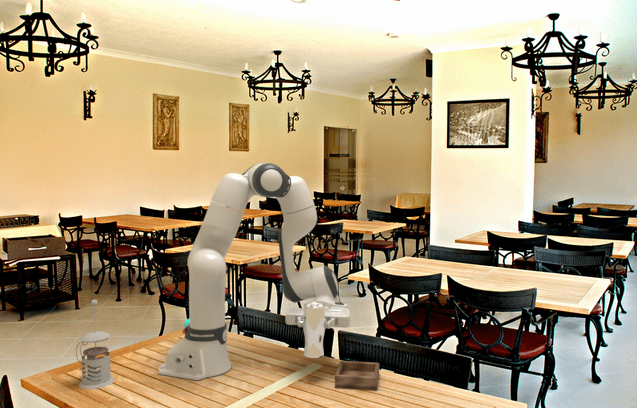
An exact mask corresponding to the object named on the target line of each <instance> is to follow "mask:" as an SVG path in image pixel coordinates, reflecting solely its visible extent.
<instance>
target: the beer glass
mask: <svg viewBox="0 0 637 408" xmlns="http://www.w3.org/2000/svg"><path fill="white" fill-rule="evenodd" d="M303 308H304V310H303V327H302V328H303V329H302V330H303V334H304V350H303V355H304V356H305V357H306V358H309V359H319V358H322V357H324V356H325V355H324V354H325V353H324V337H325V331H326V328H325V322H326V305H325V304H323V303H313V302H306V303H304V304H303Z"/></svg>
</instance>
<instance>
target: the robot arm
mask: <svg viewBox="0 0 637 408" xmlns="http://www.w3.org/2000/svg"><path fill="white" fill-rule="evenodd" d="M254 196H258V197H261V198H275V199H276V200H277V201H278V204H279V205H280V209H281V212H282V217H283V223H282V224H283V225H282V227H281V228H280V229H279V232H278V249H279V258H280V266H281V274H282V275H281V277H282V293H283V295H284V297H285V299H286V300H288V301H290V302H292V303H295V304H296V303H300V302H302V301H305V300H309V299H313V298H315V299H314V300H313V301H312V303H323V304H325V305H326V322H325V329H331V328H349V327H350V326H351V312H350V311H351V310H350V309H349V305H348V304H346V303H343V302H340V297H339V292H340V286H339V281H338V277H337V274H336V273H335V271H334V270H332V268H330V267H328V266H327V265H322V266H317V267H314V268H309V269H306V270H300V271H296V269H295V261H294V253H293V252H294V251H293V250H294V249H293V247H294V245H295V244H296V243H297V242H299V241H300V240H301V239H302V238H303V237H305V236H307V235H308V234H309V233H311V232H312V230H313V229H314V227H316V224H317V221H318V215H317V209H316V206H315V202H314V199H313V196H312V193H311V191H310V188H309V187H308V184H307V183H306V180H305V179H304V178H302V177H301V176H298V175H290V176H289V175H288V174H287V173H286V172H285V171H284V170H283V169H282V168H281V167H280V166H279V165H277V164H274V163H272V162H271V163H270V162H259V163H256V164H254V165H252V166H250V167H249V168H248V169H246V170H245V171H244V172H242V174H239V173H237V172H230V173H226V174H225V175H223V177H222V178H221V179H220V182H219V183H218V185H217V187H216V189H215V191H214V193H213V195H212V197H211V201H210V203H209V205H208V208H207V210H206V213H205V216H204V219H203V221H202V224H201V227H200V228H199V231H198V234H197V236H196V238H195V241H194V242H193V245H192V247H191V248H190V249H191V250H190V252H189V254H188V257H187V267H188V273H189V275H188V276H189V278H188V279H189V283H188V285H189V288H188V289H189V291H188V292H189V294H188V295H189V296H188V300H189V301H188V307H189V309H188V310H189V314H188V315H189V316H188V317H189V318H190V323H189V324H188V326H187V327H185V326H184V328H183V330H182V333H181V334H182V335H183V334H184V337H183V338H181V339H180V340H179V341H177V342H176V343H175V344H174V345H173V346H172V347H170V349H169V350H168V351H167V353H166V354H167V355H166V358H165V362H163V363H162V364H161V365H160V366H159V367H158V374H159V375H163V376H169V377H175V378H180V379H186V380H187V379H188V380H194V381H200V380H203V379H206V378H210V377H216V376H219V375H223V374H225V373H226V372H229V370H231V369H232V364H231V360H230V358H229V353H228V348H227V347H228V346H227V341H228V328H227V327H228V326H227V322H226V305H225V303H226V284H227V282H226V281H227V264H226V260H225V257H226V255H227V253H228V251H229V249H230V247H231V244H232V243H233V241H234V239H235V238H236V236H237V232H238V230H239V227H240V225H241V222H242V219H243V216H244V213H245V211H246V208H247V205H248V203H249V202H250V200H251V198H253V197H254ZM303 310H304V307H303V308H301V307H300V308H299V307H297V308H296V307H294V308H292V309H289V310H288V311H287V312H285V314H284V315H285V317H284V318H285V324H286V325H289V326H297V327H298V328H303Z"/></svg>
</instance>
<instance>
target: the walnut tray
mask: <svg viewBox="0 0 637 408" xmlns="http://www.w3.org/2000/svg"><path fill="white" fill-rule="evenodd" d="M379 378H380V363H379V362H369V361H351V360H350V361H348V360H340V361H339V365H338V367H337V369H336V372H335V375H334V388H335V389H348V390H365V391H376V392H377V391H378V387H379V386H378V385H379Z"/></svg>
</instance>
